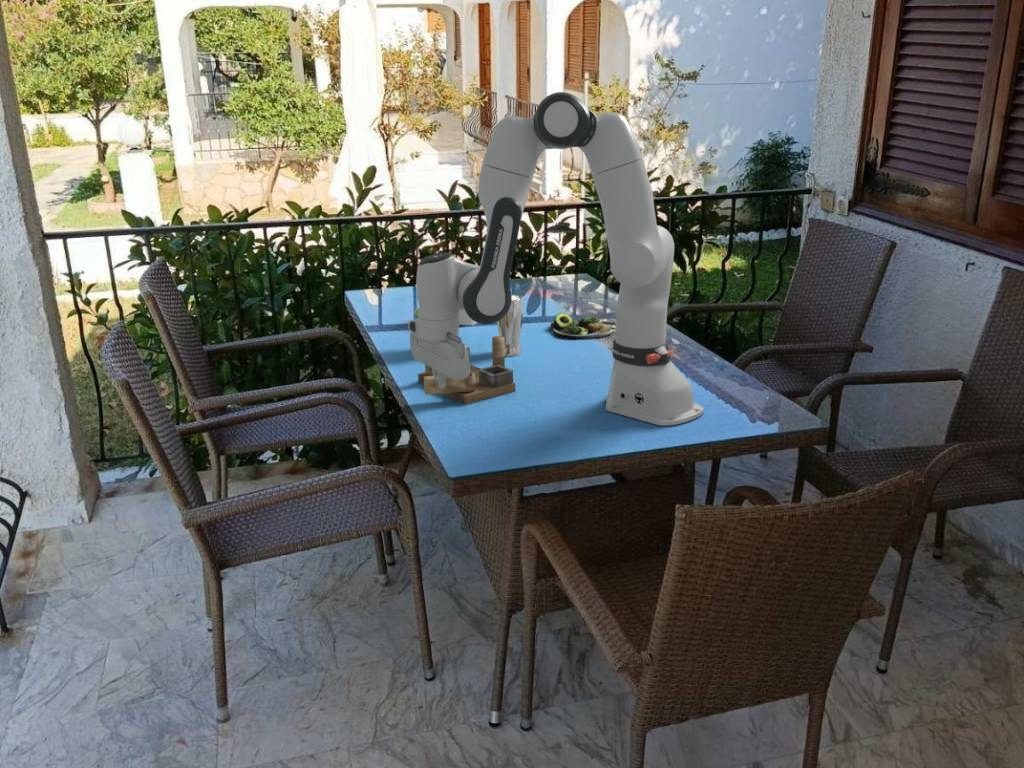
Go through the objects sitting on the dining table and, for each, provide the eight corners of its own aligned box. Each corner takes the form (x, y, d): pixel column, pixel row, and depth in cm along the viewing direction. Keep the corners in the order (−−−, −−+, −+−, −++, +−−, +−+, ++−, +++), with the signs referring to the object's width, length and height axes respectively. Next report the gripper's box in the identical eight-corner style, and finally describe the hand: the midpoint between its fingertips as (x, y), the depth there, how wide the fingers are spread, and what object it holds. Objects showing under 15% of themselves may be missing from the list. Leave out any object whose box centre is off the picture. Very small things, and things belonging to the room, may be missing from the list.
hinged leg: (474, 386, 212) (473, 369, 211) (476, 390, 209) (476, 373, 208) (424, 390, 210) (423, 373, 208) (425, 395, 207) (425, 377, 206)
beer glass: (520, 357, 240) (519, 301, 235) (494, 356, 241) (493, 300, 236) (525, 349, 246) (525, 294, 241) (499, 348, 248) (498, 293, 243)
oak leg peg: (507, 373, 228) (506, 338, 225) (497, 375, 227) (497, 340, 224) (499, 370, 231) (499, 335, 228) (490, 372, 229) (489, 337, 226)
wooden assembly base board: (515, 391, 216) (515, 362, 214) (466, 404, 208) (465, 375, 206) (465, 369, 231) (465, 343, 229) (418, 381, 223) (417, 354, 221)
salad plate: (611, 321, 273) (611, 306, 271) (626, 338, 256) (626, 322, 255) (546, 324, 271) (546, 309, 269) (557, 342, 254) (557, 326, 252)
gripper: (476, 336, 196) (477, 397, 200) (428, 316, 212) (431, 373, 216) (450, 341, 192) (452, 404, 197) (404, 320, 208) (407, 378, 213)
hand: (440, 387), depth 207 cm, fingers closed, pressing on hinged leg
